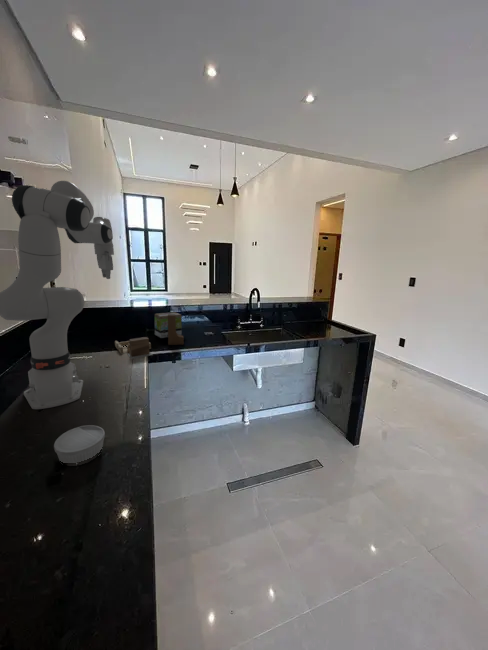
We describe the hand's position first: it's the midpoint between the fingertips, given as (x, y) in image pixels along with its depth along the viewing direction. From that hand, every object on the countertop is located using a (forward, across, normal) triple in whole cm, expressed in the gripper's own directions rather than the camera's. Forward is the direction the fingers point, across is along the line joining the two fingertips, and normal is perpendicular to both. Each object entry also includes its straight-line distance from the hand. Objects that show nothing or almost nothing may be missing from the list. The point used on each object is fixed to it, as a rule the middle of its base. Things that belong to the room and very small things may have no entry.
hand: (106, 278), depth 142 cm
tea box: (+40, +10, -37) cm, 55 cm away
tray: (+39, -6, -10) cm, 41 cm away
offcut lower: (+39, -12, -10) cm, 42 cm away
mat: (+39, -19, -10) cm, 45 cm away
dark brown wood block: (+39, -19, -10) cm, 44 cm away
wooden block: (+39, -10, -34) cm, 53 cm away
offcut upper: (+36, -12, -10) cm, 39 cm away
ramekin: (+39, -86, +24) cm, 98 cm away
